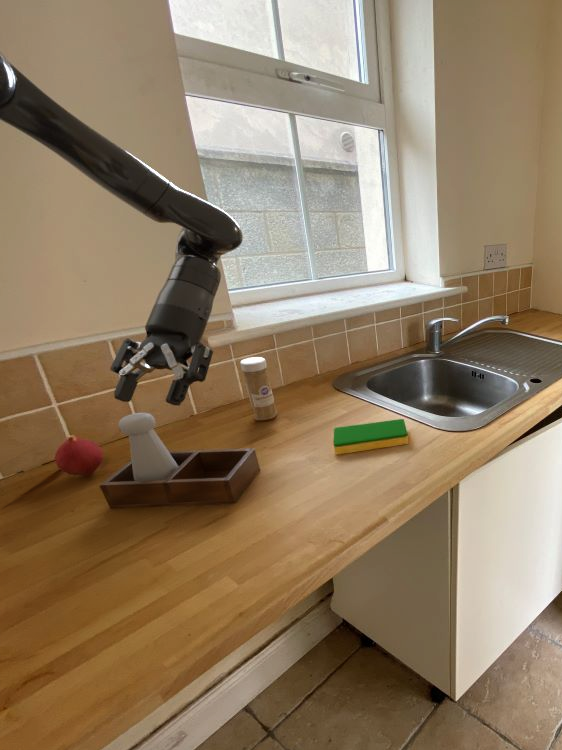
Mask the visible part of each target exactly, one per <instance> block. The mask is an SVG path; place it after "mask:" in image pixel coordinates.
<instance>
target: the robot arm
mask: <svg viewBox="0 0 562 750" xmlns="http://www.w3.org/2000/svg"><path fill="white" fill-rule="evenodd" d="M0 121H2V122H4V124H8V125H9V126H11V127H12V128H15V129H16V130H18V131H19V132H22V133H23V134H25V135H27V136H28V137H30V138H32V139H33V140H35V141H36V142H37V143H39V144H41V145H43V146H44V147H46V148H47V149H49V150H50V151H52V152H53V153H55V154H56V155H58V156H59V157H60V158H62V160H65V161H66V162H67V163H69V165H72V166H73V167H74V168H75V169H76V170H78V171H79V172H80V173H82V174H83V175H84V176H86V177H87V178H88V179H90V180H91V181H93V182H94V183H96V184H97V185H98V186H99V187H100V188H102V189H104V190H106V191H107V192H108V193H109V194H111V195H112V196H114V197H116V198H117V199H119V200H120V201H122V202H123V203H125V204H127V205H128V206H130V207H131V208H133V209H134V210H136V211H137V212H139V213H141V214H142V215H144V216H145V217H147V218H149V219H150V220H151V221H154V222H156V223H160V224H169V223H170V224H175V225H177V226H180V227H182V228H181V229H180V232H179V234H178V237H177V240H176V247H175V253H174V262H173V264H172V266H171V269H170V271H169V273H168V275H167V278H166V280H165V282H164V284H163V286H162V288H161V289H160V290H159V292H158V294H157V297H156V299H155V301H154V304H153V306H152V308H151V311H150V314H149V316H148V319H147V321H146V323H145V326H144V330H145V333H146V336H145V338H144V339H143V340H142V341H135V340H133V339H131V338H128V337H127V338H125V339H124V340H122V343H121V346H120V347H119V349H118V351H117V354H116V356H115V358H114V360H113V361H112V364H111V366H110V368H109V370H110V371H111V372H113V373H116V374H117V375H119V380H118V382H117V385H116V387H115V389H114V391H113V395H114V399H115V400H118V401H121V402H124V403H125V402H126V403H129V402H131V401H132V397H133V395H134V393H135V391H136V388H137V386H138V383H139V381H138V380H140V379H141V378H142V377H144V376H145V375H146V374H151V373H153V372H154V371H155V370H165V369H166V370H169V371H172V374H173V375H174V378H175V379H172V381H171V383H170V387H169V389H168V392H167V395H166V398H165V403H167V404H169V405H172V406H181V404H182V403H183V402H184V401H185V399H186V396H187V394H188V391H189V388H190V385H192V384H193V383H196V382H199V383H202V382H205V381H206V378H207V375H208V372H209V368H210V364H211V360H212V357H213V354H214V350H213V349H212V348H211V347H208V346H207V345H206V344H203V342H201V341H202V339H203V335H204V333H205V330H206V327H207V325H208V322H209V319H210V316H211V314H212V311H213V305H214V300H215V298H216V295H217V292H218V290H219V287H220V284H221V280H222V272H221V270H220V268H219V267H218V262H219V260H220V258H221V256H223V255H226V254H228V253H230V252H232V251H235V250H237V248H239V247H240V246H241V245H242V243H243V239H244V235H243V231H242V228H241V226H239V224H238V222H237V221H236V220H235V219H234V218H233V217H232V216H231V215H230V214H229V213H227V212H226V211H224V210H223V209H221V208H220V207H218V206H217V205H214V204H212V203H210V202H208V201H206V200H204V199H202V198H200V197H198V196H196V195H195V194H192V193H190V192H187V191H185V190H183V189H181V188H179V187H178V186H176V184H173V183H172V182H171V181H170V180H168V179H167V178H165V177H164V176H163V175H161V174H160V173H158V172H157V171H156V170H154V169H153V168H151V167H150V166H149V165H147V164H146V163H144V161H142V160H140V159H139V158H138V157H136V156H134V155H133V154H132V153H130V152H128V151H127V150H125V149H123V148H122V147H121V146H119V145H118V144H116V143H115V142H113V141H111V140H110V139H109V138H108V137H105V136H104V135H103V134H101V133H100V132H98V131H96V129H94V128H92V127H91V126H89V125H88V124H86V123H85V122H83V121H82V120H81V119H79V118H78V117H76V116H75V115H74V114H72V113H71V112H70V111H68V110H67V109H66V108H64V107H63V106H62V105H60V104H59V103H57V101H55V100H54V99H53V98H52V97H50V96H49V95H48V94H46V93H45V92H44V91H42V89H40V88H39V87H38V86H37V85H36V84H35V83H34V82H33V81H32V80H30V79H29V78H28V77H27V76H26V75H24V73H22V72H21V71H20V70H19V69H18V68H17V67H15V66H14V65H13V64H12V63H11V62H10V61H9V60H8V59H7V58H6V56H5V55H4V54H3V53H2V52H1V51H0ZM190 358H191V360H190V362H189V359H190ZM143 361H144V362H143ZM124 362H125V363H124ZM123 364H124V365H123Z"/></svg>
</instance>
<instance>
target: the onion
mask: <svg viewBox="0 0 562 750" xmlns="http://www.w3.org/2000/svg"><path fill="white" fill-rule="evenodd" d="M104 454H105V453H104V451H103V450H102V447H100V446H99V445H98V444H97V443H96V442H95V441H92V440H90V439H89V440H88V439H85V438H80V437H79V438H78V437H77V436H75V435H69V436H67V438H66V440H65V441H64V442H63V443H62V444H61V445H59V447H58V449H57V450H56V451H55V455H54V461H55V464H56V466H57V468H58V469H59V470H61V472H64V473H65V474H68V475H72V476H81V477H90V476H92V475H93V474H94V473H95V471H96V470H97V469H98V468H99V467H100V465H101V464H102V463H103V462H104V459H105V455H104Z"/></svg>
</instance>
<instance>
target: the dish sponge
mask: <svg viewBox="0 0 562 750" xmlns="http://www.w3.org/2000/svg"><path fill="white" fill-rule="evenodd" d="M332 444H333V449H334V454H335V455H342V454H350V453H356V452H357V453H358V452H363V451H370V450H377V449H382V448H390V447H396V446H403V445H407V444H409V434H408V431H407V427H406V423H405V419H403V418H400V419H392V420H384V421H377V422H369V423H362V424H354V425H345V426H338V427H335V428H333V443H332Z"/></svg>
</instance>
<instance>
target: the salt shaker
mask: <svg viewBox="0 0 562 750" xmlns="http://www.w3.org/2000/svg"><path fill="white" fill-rule="evenodd" d="M117 424H118V429H119V430H120V432H121V433H122V434H123V435H124V436H125V435H127V436H128V441H129V450H130V458H131V459H132V467H133V476H134V480H135V481H151V480H165V479H167V478H168V477H169V476H170V475H171V474H172V473H173V472H174V471H175V470H176V469H177V468H178V467H179V466H178V465H177V463H176V462H175V460H174V459H173V457H172V456H171V454H170V453H169V451H170V450H168V448H167V447H166V445H165V443H164V442H163V441H162V439H161V438H160V437H159V435H158V433H157V432H156V431H155V427H156V425H157V422H156V418H155V417H154V415H153V414H151V413H148V412H144V411H143V412H135V413H130V414H128V415H125V416H123V417H121V418H120V420H119V421H118V423H117ZM131 459H130V460H131Z"/></svg>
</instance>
